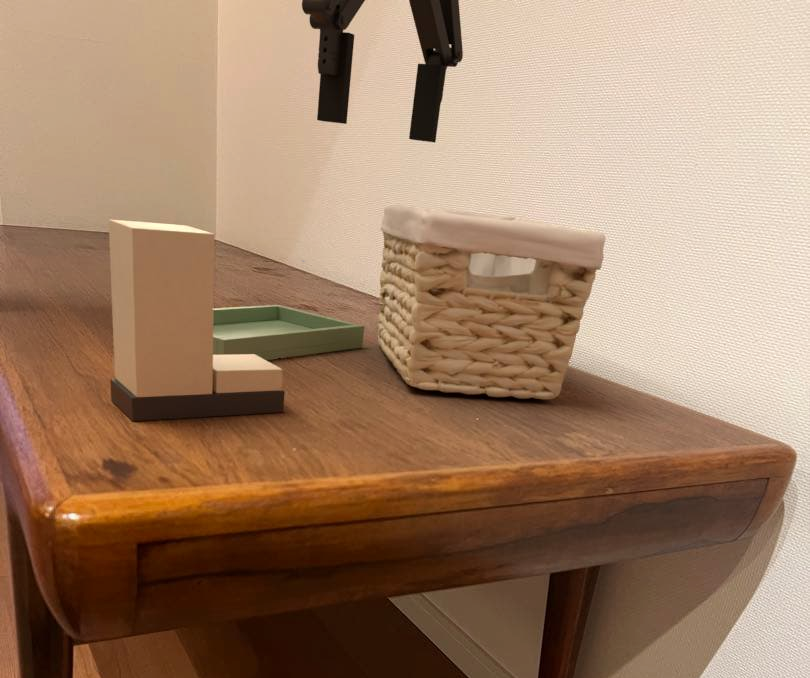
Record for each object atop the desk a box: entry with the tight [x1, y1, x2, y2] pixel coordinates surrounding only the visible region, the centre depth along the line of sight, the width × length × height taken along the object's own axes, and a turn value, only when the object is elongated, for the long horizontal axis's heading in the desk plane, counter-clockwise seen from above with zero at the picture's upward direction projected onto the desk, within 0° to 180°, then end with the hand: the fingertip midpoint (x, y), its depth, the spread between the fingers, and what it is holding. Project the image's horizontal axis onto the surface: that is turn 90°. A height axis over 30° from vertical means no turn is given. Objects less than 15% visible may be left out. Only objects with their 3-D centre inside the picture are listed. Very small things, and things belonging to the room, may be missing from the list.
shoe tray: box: [213, 304, 365, 361], centre depth 79 cm, size 13×20×2 cm, turn 144°
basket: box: [377, 202, 607, 400], centre depth 75 cm, size 24×16×15 cm
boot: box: [108, 219, 285, 422], centre depth 54 cm, size 11×5×12 cm, turn 124°
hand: (380, 132), depth 72 cm, fingers open, 13 cm apart
